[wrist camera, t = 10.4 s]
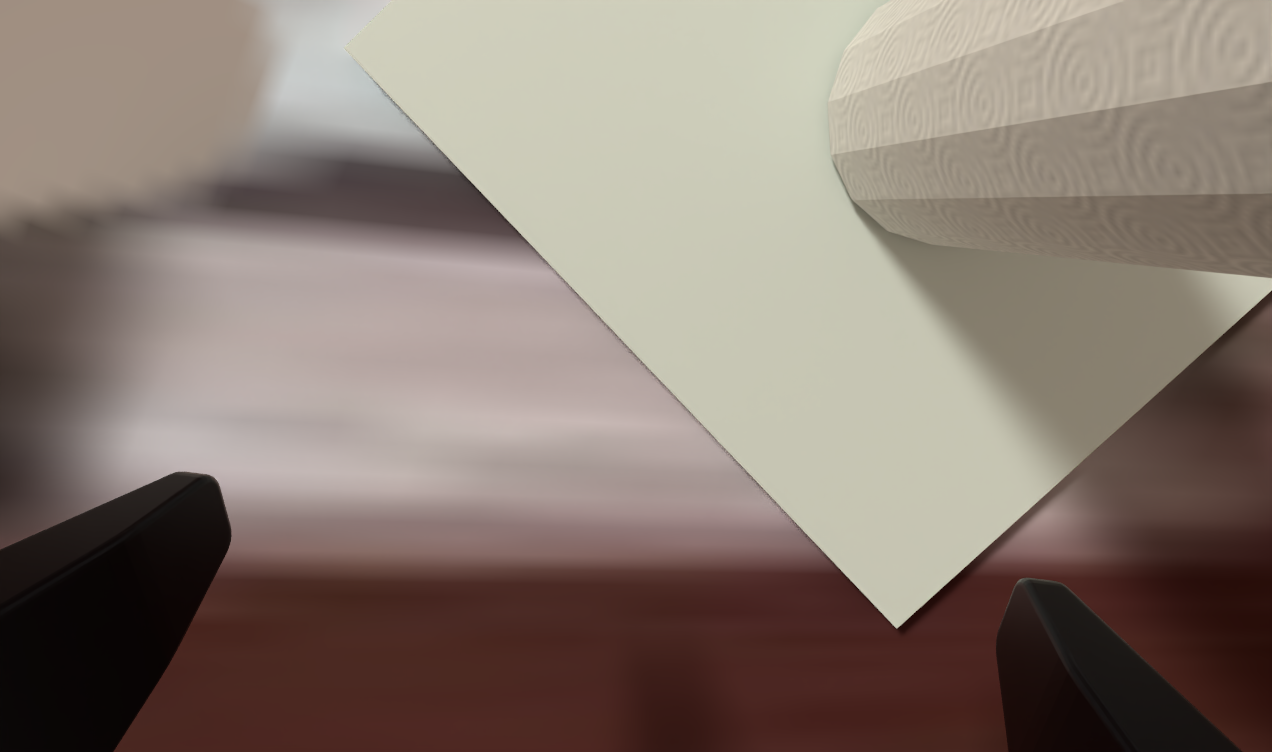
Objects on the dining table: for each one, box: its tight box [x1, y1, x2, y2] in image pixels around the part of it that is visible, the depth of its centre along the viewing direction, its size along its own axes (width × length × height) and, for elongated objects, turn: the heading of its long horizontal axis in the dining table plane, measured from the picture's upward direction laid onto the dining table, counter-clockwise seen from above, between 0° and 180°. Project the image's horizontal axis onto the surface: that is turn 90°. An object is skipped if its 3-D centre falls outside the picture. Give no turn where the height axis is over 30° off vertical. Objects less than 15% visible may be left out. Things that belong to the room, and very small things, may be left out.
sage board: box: [344, 0, 1272, 628], centre depth 20 cm, size 20×20×1 cm
